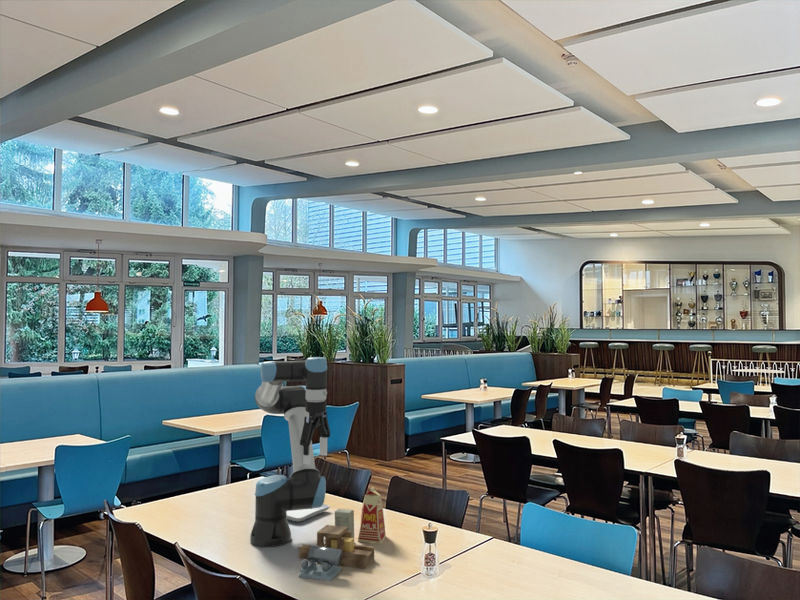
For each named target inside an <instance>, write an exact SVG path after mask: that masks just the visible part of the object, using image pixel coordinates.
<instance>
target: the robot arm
mask: <svg viewBox="0 0 800 600" xmlns="http://www.w3.org/2000/svg"><path fill="white" fill-rule="evenodd" d="M327 361H328V360H327V358H325V357H321V356H311V357H307V358H306V359H305V360H270V361H263V362H262V363H261V365H260V380H261V381H262V382H261V385H260V386H259V387H258V388H257V389H256V391H255V393H254V401H255V404H256V405H257V407H258V408H259V409H260V410H262V411H263V412H266V413H268V414H271V415H283V417H284V420H286V421H287V422H288V432H289V440H290V449H291V460H292V467H293V468H292V470H293V472H292V473H291V474H290V475H289V478H288V477H287V476H286V475H285V474H273V475H269V476H265V477H262V478H261V479H259V480H258V481H256V484H255V493H254V496H255V505H254V506H255V511H254V513H255V517H254V523H253V525H252V529H251V532H250V537H249V538H250V543H251V544H252V545H254V546H256V547H262V548H263V547H266V548H267V547H270V548H271V547H278V546H283V545H285V544H287V543H289V542H290V541H291V540H292V533H291V528H290V526H289V521H288V520H287V517H286V515H287V511H291V510H303V509H313V508H319V507H321V506H322V505H323V504H324V503H325V498H326V491H327V489H326V488H327V485H326V483H327V482H326V477H325V476H323V475H321V473H320V470H319V469H317V468H316V464H315V456H314V448H313V441H312V439H313V437H314V433H315V431H316V430H318V432H319V434H320V437H319V456H323V457H324V456H328V438H331V429H330V426H329V425H330V424H329V420H328V413H327V412H328V411H327V404H328V403H327V395H328V391H327V386H328V385H327V382H328V381H327V380H328V378H327V377H328V376H327V375H328V362H327ZM286 382H305V385H300V384H299V385H290V386H289V385H287V386H284V385H283V384H284V383H286Z"/></svg>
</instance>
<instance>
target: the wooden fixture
mask: <svg viewBox="0 0 800 600" xmlns="http://www.w3.org/2000/svg"><path fill="white" fill-rule="evenodd" d="M342 537H349V538H352V531H348V527H342V526H335V525H333V524H332V525H331V524H326V525H324V526H323V527H321V529H319V530H318V531H317V532H316V546H322V547H328V548H331V539H333V538H337V549H341V550H342V553H343V556H342V561H341V564H340V565H339V566H340V567H341V566H342V567H350V568H358V569H366V570H367V568H368V567H369V566H370V565H371V564H372V563H373V562H374V561H375V546H371V545H363V544H355V543H354V550H353V551H352V552H348V551H344V538H342ZM324 539H325V540H324ZM324 543H325V545H324ZM312 545H313V544H312ZM312 545H310V544H302V545H300V546H298V549H299V551H298V552H299V553H298V556H299V558H303V559H308V554H309V550H310V547H311V546H312ZM316 564H318V562H316Z"/></svg>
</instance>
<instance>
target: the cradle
mask: <svg viewBox="0 0 800 600" xmlns="http://www.w3.org/2000/svg"><path fill="white" fill-rule="evenodd" d="M341 570H342V567H341V566H336V565H330V564H329V563H326V562H324V563H322V564H318V563H317V562H311V561H309V559H302V561H301V568H300V572H299V573H298V577H299V578H305V579H313V580H319V581H320V580H321V581H326V582H327V581H328V582H331V581H332V580H333V579H334V577H336V576H337V575H338V574H339V573H340V572H341Z"/></svg>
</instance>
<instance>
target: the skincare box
mask: <svg viewBox="0 0 800 600" xmlns="http://www.w3.org/2000/svg"><path fill="white" fill-rule="evenodd" d="M354 512H355V511H354V509H349V508H347V509H345V508H338V509H337V510H335V511H334V526H342V527H348V531H352V538H354V539H355V513H354Z"/></svg>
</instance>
